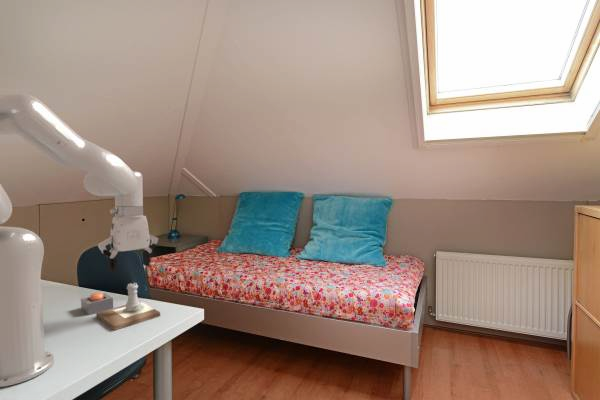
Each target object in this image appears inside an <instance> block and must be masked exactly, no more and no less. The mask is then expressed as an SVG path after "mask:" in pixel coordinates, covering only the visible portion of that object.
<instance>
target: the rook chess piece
mask: <svg viewBox="0 0 600 400" xmlns="http://www.w3.org/2000/svg"><path fill="white" fill-rule="evenodd" d="M138 288H139V285H138V283H137V282H133V283H132V282H130V283H127V286H126V290H127V294H128V295H127V301H126V303H125V307H126V308H125V310H126V311H127V312H134V311H137V310H139V309H140V308H141V306H140V305H141V303H140V302H139V301H140V300H139V299H138Z"/></svg>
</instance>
